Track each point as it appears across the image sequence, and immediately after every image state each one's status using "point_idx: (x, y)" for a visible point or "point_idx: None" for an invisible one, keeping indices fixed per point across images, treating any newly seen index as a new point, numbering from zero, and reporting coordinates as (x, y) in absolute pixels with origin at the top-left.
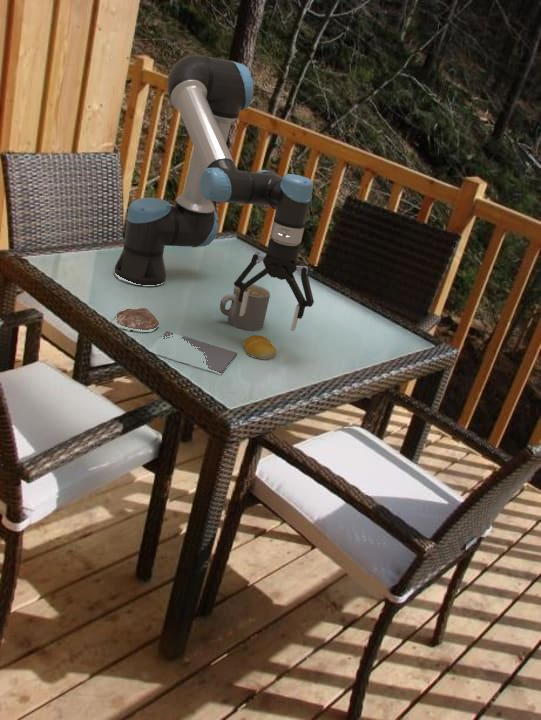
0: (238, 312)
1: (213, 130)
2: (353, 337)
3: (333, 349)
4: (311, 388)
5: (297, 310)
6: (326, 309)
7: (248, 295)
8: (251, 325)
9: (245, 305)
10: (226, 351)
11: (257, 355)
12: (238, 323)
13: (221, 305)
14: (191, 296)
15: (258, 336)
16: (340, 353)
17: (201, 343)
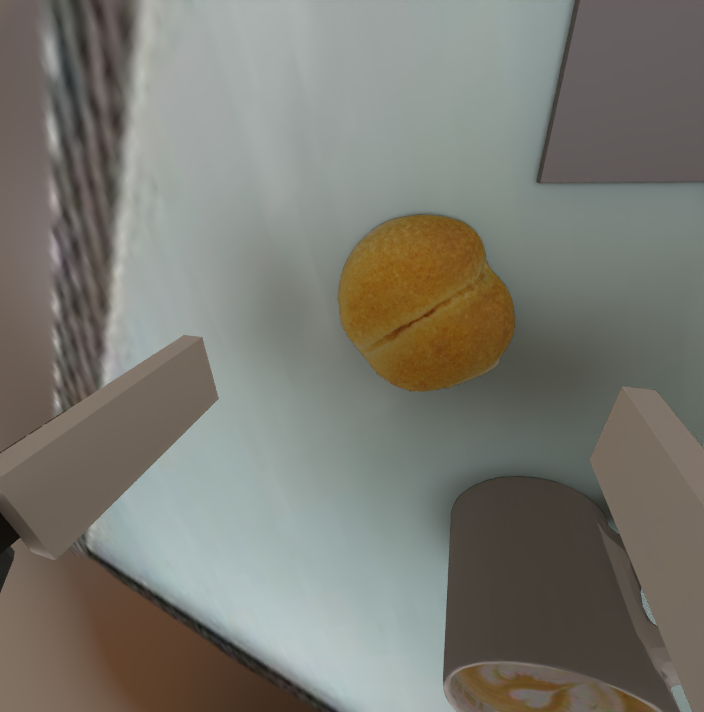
0: (589, 553)
1: None
2: (208, 536)
3: (212, 457)
4: (109, 66)
5: (26, 444)
6: (313, 640)
7: (672, 656)
8: (497, 498)
9: (641, 504)
10: (623, 144)
11: (414, 215)
12: (562, 500)
13: None
14: None
15: (438, 354)
16: (187, 442)
17: None
